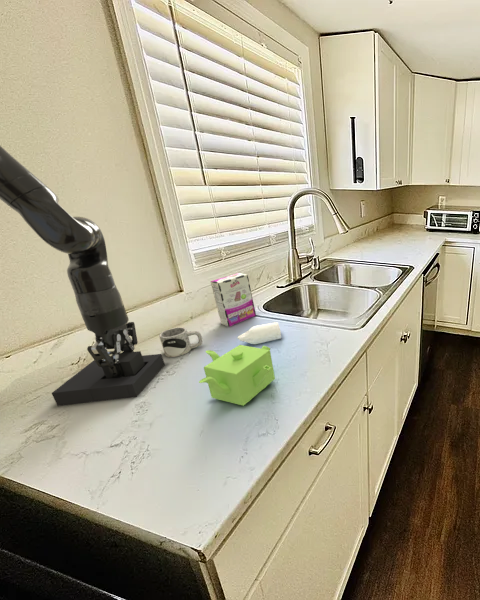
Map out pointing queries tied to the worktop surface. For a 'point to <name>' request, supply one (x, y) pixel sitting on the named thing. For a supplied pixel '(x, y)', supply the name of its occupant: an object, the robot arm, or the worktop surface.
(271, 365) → the kettle
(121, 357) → the small pad
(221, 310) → the candy bar box
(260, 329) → the white tapered cylinder
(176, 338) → the mug
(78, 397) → the base pad
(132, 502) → the worktop surface
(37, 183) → the robot arm
